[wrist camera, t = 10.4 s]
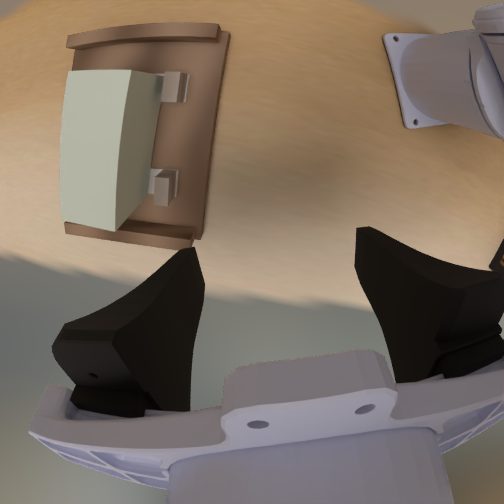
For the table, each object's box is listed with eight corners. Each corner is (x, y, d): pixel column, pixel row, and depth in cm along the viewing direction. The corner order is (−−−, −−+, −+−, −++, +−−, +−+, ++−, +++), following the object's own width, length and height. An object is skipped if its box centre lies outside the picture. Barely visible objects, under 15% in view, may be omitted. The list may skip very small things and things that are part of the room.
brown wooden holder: (230, 35, 15) (226, 23, 12) (202, 233, 23) (195, 255, 20) (84, 41, 14) (60, 36, 11) (79, 217, 22) (59, 234, 19)
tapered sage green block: (166, 76, 16) (131, 69, 10) (147, 196, 20) (115, 231, 15) (115, 73, 15) (68, 71, 10) (102, 188, 20) (61, 220, 14)
